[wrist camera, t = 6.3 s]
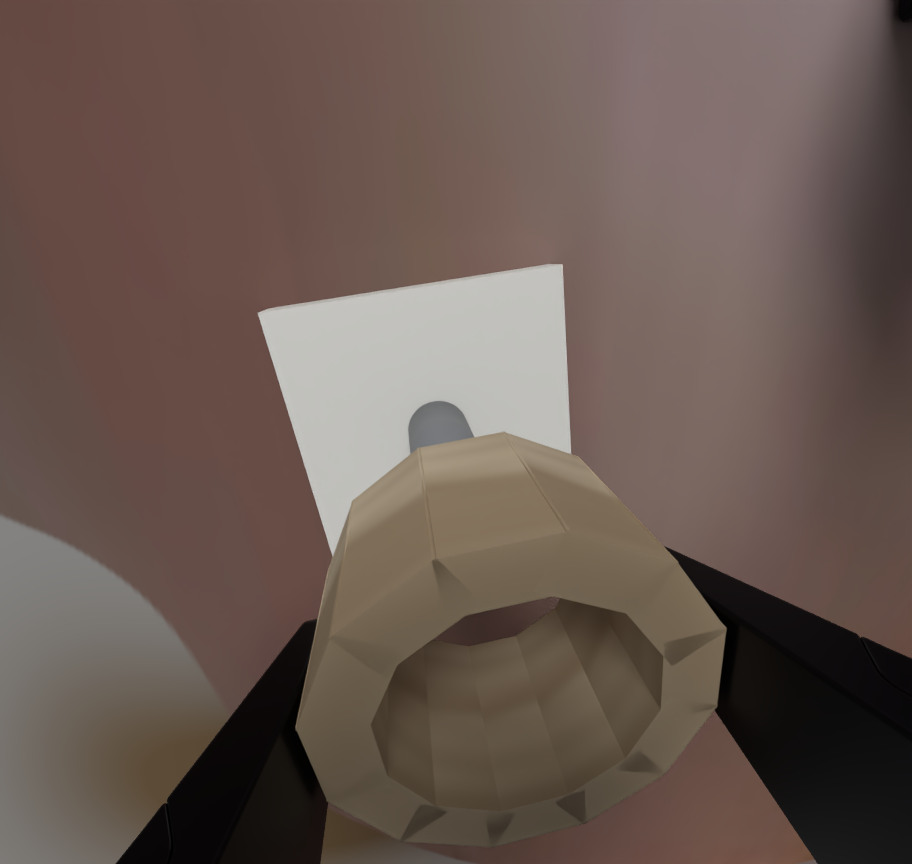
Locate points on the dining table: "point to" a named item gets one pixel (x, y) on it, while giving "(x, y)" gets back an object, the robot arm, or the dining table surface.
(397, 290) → the post stand
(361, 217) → the dining table surface
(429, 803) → the bead
